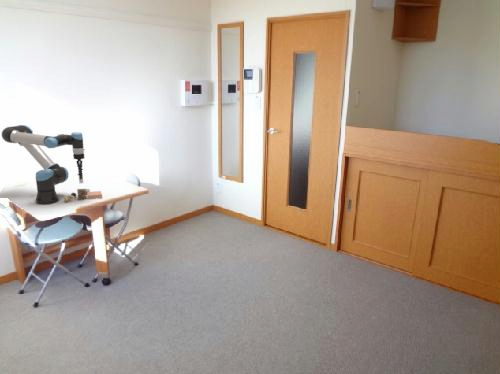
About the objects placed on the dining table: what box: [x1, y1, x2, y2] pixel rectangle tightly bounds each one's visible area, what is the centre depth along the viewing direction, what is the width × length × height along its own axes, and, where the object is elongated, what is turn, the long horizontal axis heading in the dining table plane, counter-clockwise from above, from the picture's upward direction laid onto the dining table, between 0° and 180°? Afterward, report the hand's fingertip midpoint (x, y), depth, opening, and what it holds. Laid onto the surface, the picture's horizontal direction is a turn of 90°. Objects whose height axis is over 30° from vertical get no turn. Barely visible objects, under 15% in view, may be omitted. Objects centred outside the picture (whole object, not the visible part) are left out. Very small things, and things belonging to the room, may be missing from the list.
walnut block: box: [76, 188, 88, 201], centre depth 298 cm, size 6×6×7 cm
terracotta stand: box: [87, 190, 103, 200], centre depth 304 cm, size 10×10×3 cm
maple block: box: [63, 194, 75, 204], centre depth 291 cm, size 6×4×4 cm, turn 134°
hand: (81, 181), depth 295 cm, fingers open, 13 cm apart
